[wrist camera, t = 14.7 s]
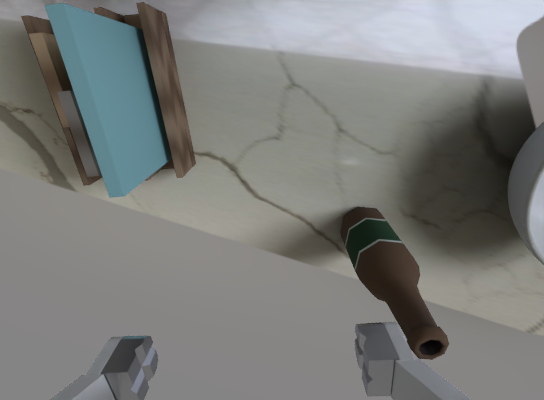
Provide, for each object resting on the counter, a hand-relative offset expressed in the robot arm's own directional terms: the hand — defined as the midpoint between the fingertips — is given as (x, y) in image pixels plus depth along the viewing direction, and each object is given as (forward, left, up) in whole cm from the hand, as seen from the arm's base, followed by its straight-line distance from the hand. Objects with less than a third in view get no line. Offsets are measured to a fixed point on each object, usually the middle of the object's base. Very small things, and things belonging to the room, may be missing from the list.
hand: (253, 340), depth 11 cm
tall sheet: (-8, -15, -34) cm, 38 cm away
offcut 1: (-11, -24, -34) cm, 43 cm away
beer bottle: (+15, +14, -35) cm, 41 cm away
